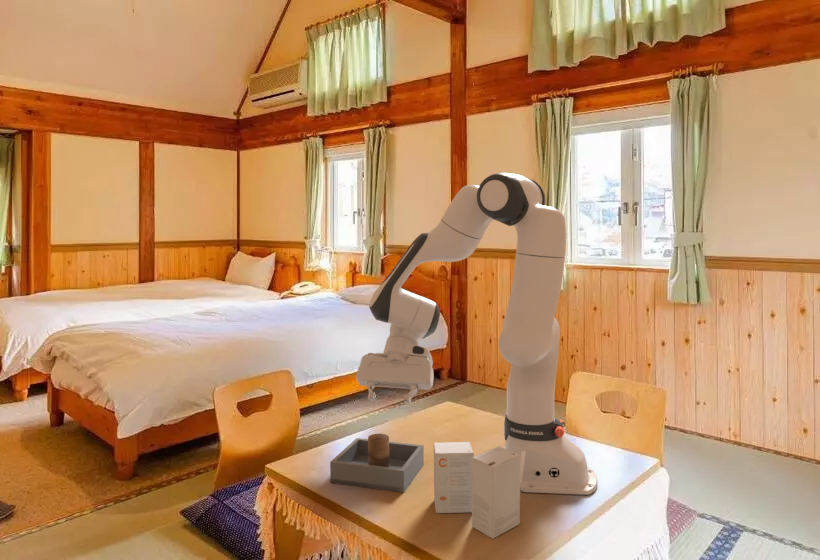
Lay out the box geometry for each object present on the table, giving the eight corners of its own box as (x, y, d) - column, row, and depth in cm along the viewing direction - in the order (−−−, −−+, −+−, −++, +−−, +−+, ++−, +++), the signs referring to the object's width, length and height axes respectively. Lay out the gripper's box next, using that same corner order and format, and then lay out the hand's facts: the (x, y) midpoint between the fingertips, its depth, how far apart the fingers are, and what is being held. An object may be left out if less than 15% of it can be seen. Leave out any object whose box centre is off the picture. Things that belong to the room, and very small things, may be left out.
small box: (470, 499, 126) (470, 441, 125) (474, 513, 120) (474, 452, 119) (433, 499, 126) (433, 441, 125) (435, 513, 120) (434, 453, 119)
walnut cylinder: (392, 466, 141) (391, 434, 140) (385, 474, 136) (384, 442, 136) (372, 464, 143) (372, 432, 142) (365, 472, 138) (364, 439, 137)
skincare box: (498, 514, 119) (499, 444, 118) (521, 526, 115) (522, 453, 113) (470, 528, 114) (470, 455, 113) (492, 540, 109) (493, 464, 108)
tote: (423, 464, 145) (423, 445, 144) (404, 492, 129) (403, 471, 129) (356, 456, 150) (356, 438, 149) (330, 482, 135) (330, 461, 134)
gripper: (360, 346, 154) (346, 392, 146) (434, 349, 148) (424, 397, 140) (366, 359, 159) (353, 404, 150) (438, 362, 153) (429, 410, 145)
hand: (388, 401), depth 145 cm, fingers open, 8 cm apart
